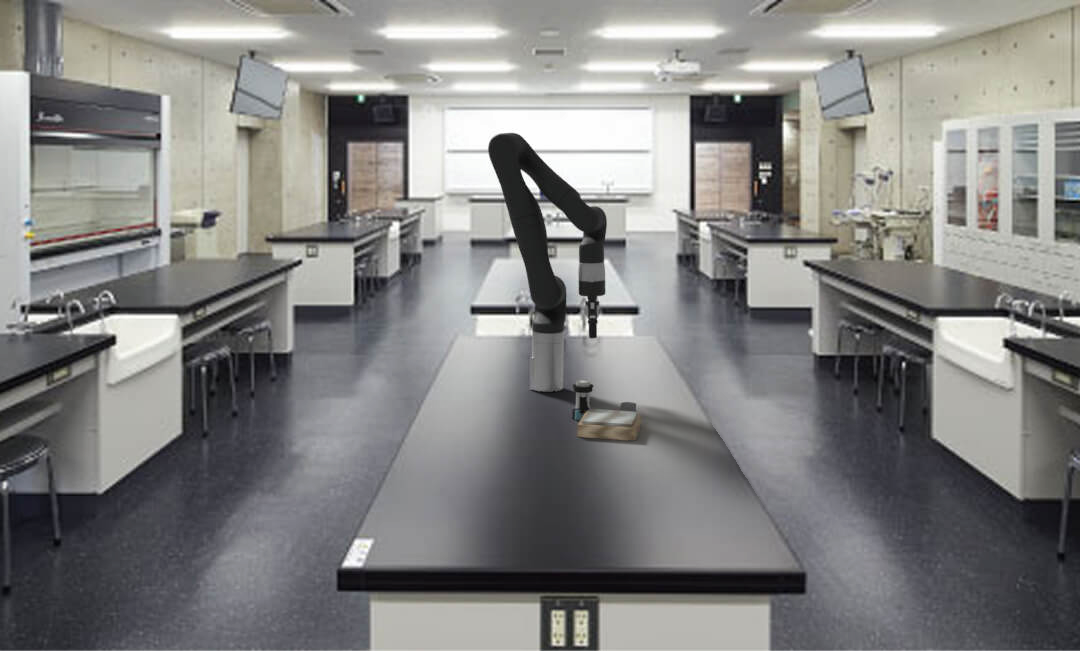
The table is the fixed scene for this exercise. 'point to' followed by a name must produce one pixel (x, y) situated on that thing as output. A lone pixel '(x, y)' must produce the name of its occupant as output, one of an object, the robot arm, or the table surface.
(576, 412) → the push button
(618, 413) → the base block
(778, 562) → the table surface
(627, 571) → the table surface
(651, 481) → the table surface
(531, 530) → the table surface
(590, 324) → the robot arm
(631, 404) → the rubber stopper
